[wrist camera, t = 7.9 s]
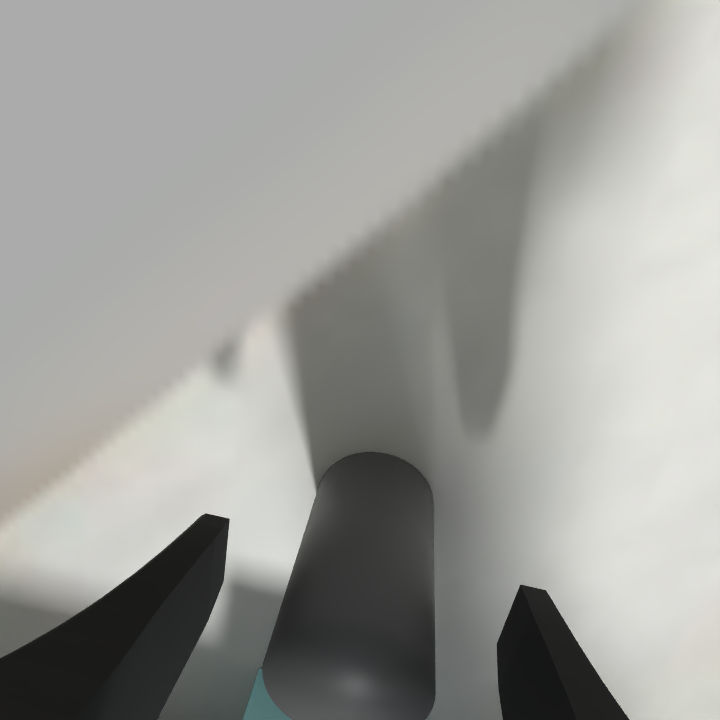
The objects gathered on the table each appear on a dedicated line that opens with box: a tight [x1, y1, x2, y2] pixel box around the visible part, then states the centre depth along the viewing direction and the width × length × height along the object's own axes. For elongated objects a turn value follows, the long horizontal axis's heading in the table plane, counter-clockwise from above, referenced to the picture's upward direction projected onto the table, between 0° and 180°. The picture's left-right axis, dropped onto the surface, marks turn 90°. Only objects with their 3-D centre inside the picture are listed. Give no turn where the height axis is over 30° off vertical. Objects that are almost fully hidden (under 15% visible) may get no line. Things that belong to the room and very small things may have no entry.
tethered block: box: [243, 452, 436, 720], centre depth 16 cm, size 5×16×6 cm, turn 168°
